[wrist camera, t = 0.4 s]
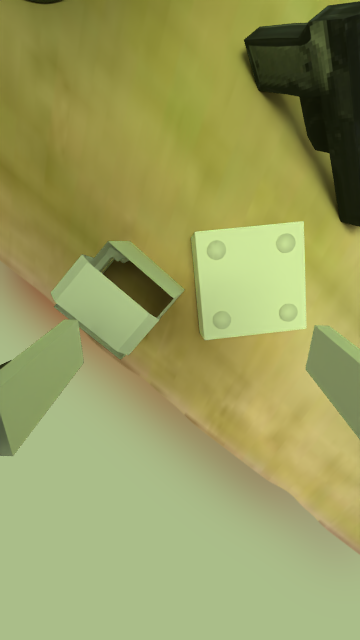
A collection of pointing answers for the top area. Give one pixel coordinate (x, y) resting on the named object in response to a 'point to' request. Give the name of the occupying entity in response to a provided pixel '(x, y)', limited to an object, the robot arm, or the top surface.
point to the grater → (110, 298)
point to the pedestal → (250, 280)
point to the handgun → (320, 87)
